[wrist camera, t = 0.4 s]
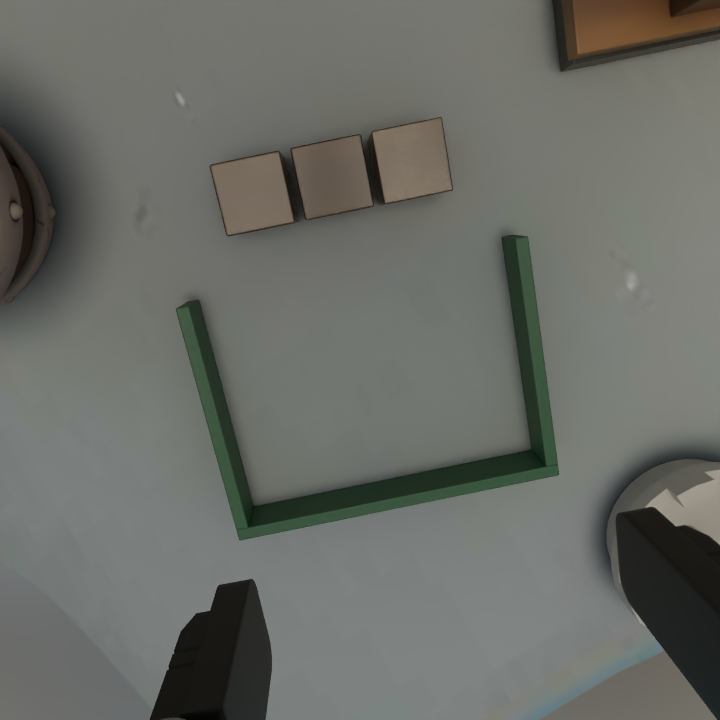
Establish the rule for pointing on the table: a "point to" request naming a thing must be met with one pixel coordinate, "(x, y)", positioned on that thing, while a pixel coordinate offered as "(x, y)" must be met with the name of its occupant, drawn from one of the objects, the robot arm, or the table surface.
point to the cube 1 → (254, 193)
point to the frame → (394, 490)
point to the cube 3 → (410, 161)
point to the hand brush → (630, 28)
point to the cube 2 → (332, 177)
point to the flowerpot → (21, 218)
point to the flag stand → (671, 502)
